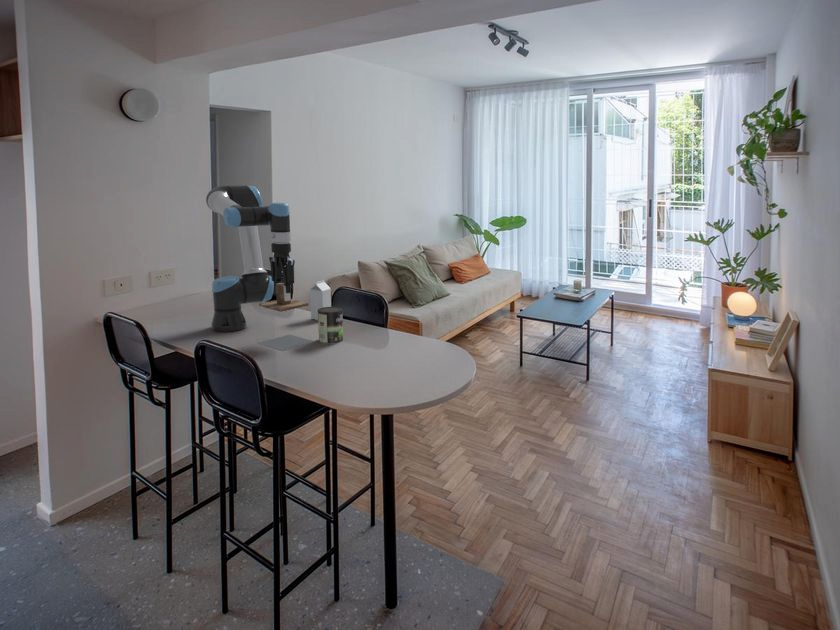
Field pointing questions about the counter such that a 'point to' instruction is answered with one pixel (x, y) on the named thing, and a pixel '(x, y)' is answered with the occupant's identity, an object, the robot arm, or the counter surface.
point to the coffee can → (330, 325)
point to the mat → (286, 342)
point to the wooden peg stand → (282, 301)
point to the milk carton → (319, 297)
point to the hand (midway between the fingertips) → (283, 299)
